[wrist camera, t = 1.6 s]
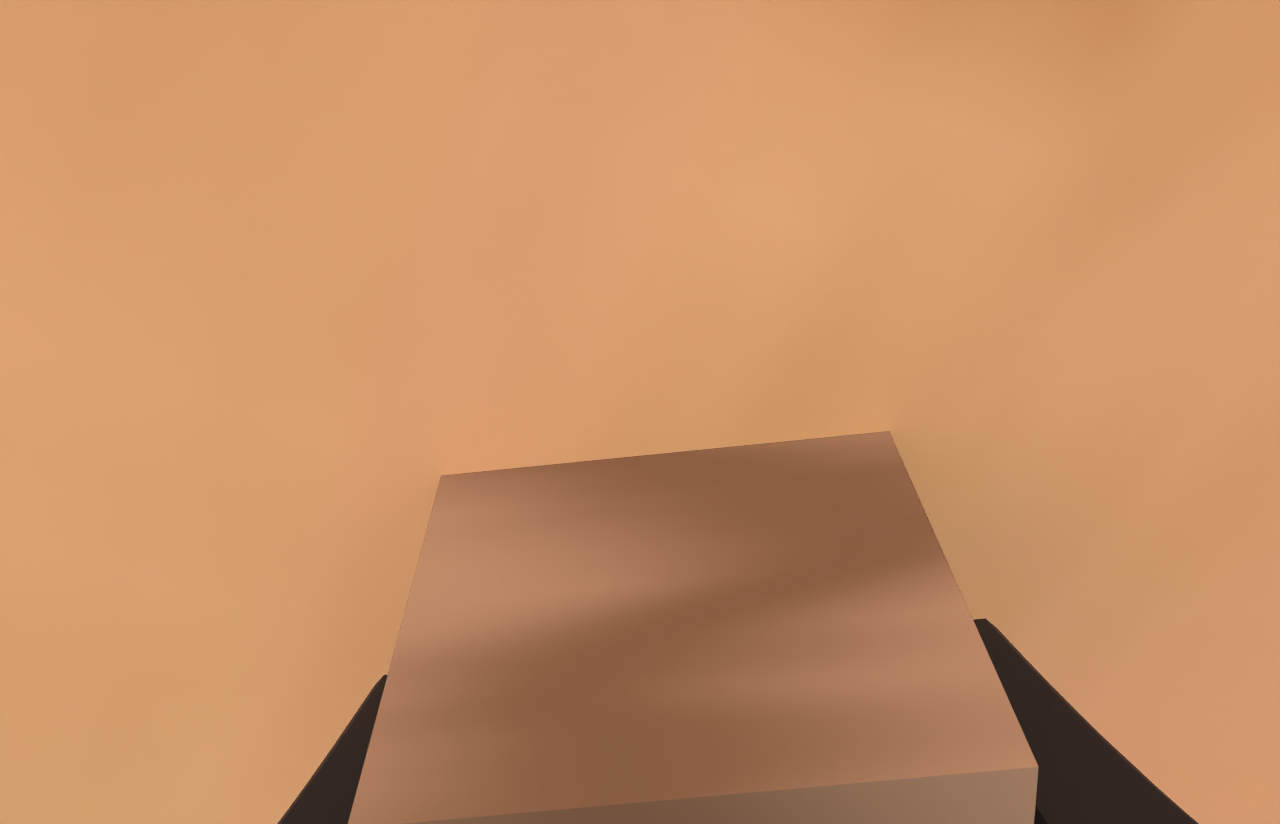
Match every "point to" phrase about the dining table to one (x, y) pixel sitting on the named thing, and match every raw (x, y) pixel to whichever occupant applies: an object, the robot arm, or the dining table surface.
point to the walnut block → (692, 651)
